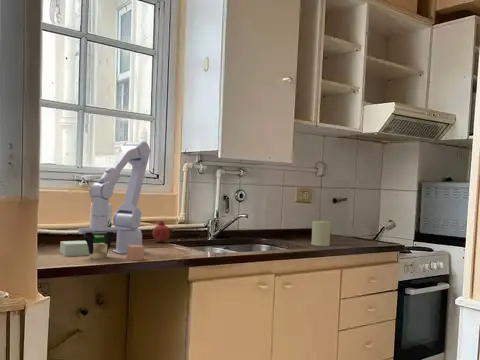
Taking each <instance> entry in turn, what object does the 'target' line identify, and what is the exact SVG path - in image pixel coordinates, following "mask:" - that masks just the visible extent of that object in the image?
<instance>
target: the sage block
mask: <svg viewBox="0 0 480 360" xmlns="http://www.w3.org/2000/svg"><path fill="white" fill-rule="evenodd" d="M59 242H60V244H59V253H60V254H61V255H63V256H64V257H72V256H73V257H75V256H77V257H78V256H90V254H89V249H88V245H87V242H86V240H67V241H66V240H63V241H59Z"/></svg>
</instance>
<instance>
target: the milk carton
mask: <svg viewBox="0 0 480 360" xmlns="http://www.w3.org/2000/svg"><path fill="white" fill-rule="evenodd" d="M112 206H113V205H112V203H110V202H109V208H108V227H112V223H113V215H112V214H113V207H112ZM91 223H92V202H91V203H90V210H89V226H88V228H90V227H91ZM95 232H107V231H95ZM92 234H93V235H94V241H93V243H104V233H92Z"/></svg>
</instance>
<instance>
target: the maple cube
mask: <svg viewBox="0 0 480 360" xmlns="http://www.w3.org/2000/svg"><path fill="white" fill-rule="evenodd" d="M89 257H90V258H92V259H95V260H96V259H107V258H108V253H107V244H105V243H93V254H90V255H89Z"/></svg>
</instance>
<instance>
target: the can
mask: <svg viewBox="0 0 480 360" xmlns="http://www.w3.org/2000/svg"><path fill="white" fill-rule="evenodd" d="M311 223H312V224H311V243H310V244H311V245H313V246H317V247H319V246H320V247H328V246H329V247H330V246H331V243H330V241H331V224H332V223H331V221H327V220H312V221H311Z"/></svg>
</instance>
